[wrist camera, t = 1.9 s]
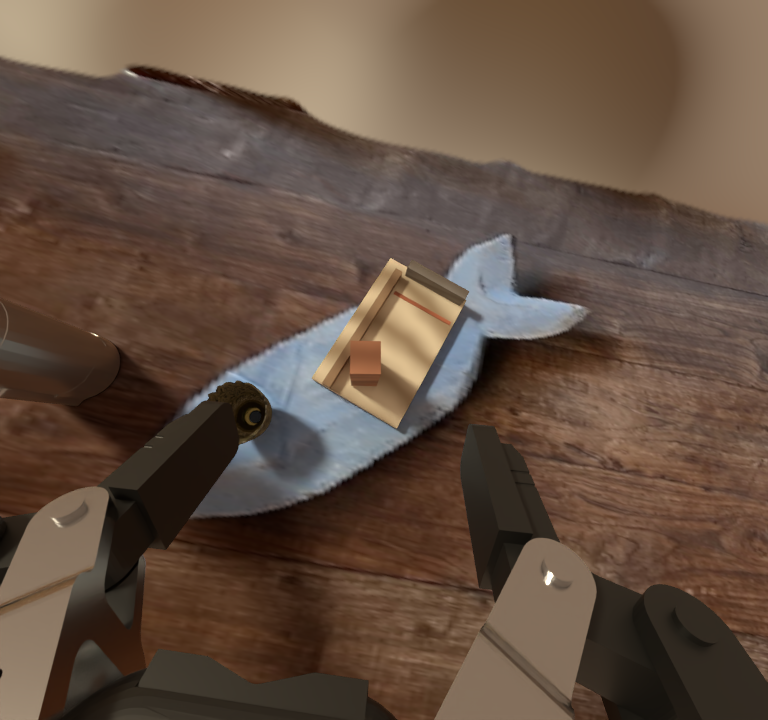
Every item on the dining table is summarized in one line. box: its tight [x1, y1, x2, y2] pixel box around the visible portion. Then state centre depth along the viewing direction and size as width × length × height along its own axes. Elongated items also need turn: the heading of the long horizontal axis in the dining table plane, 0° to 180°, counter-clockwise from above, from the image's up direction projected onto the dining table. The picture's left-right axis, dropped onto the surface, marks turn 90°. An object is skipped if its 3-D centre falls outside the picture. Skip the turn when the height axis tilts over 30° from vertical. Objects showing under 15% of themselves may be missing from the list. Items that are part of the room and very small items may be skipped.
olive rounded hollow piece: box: [207, 381, 272, 444], centre depth 38 cm, size 8×7×8 cm
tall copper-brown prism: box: [350, 341, 381, 386], centre depth 39 cm, size 5×4×8 cm
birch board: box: [312, 258, 469, 428], centre depth 45 cm, size 23×14×4 cm, turn 150°
